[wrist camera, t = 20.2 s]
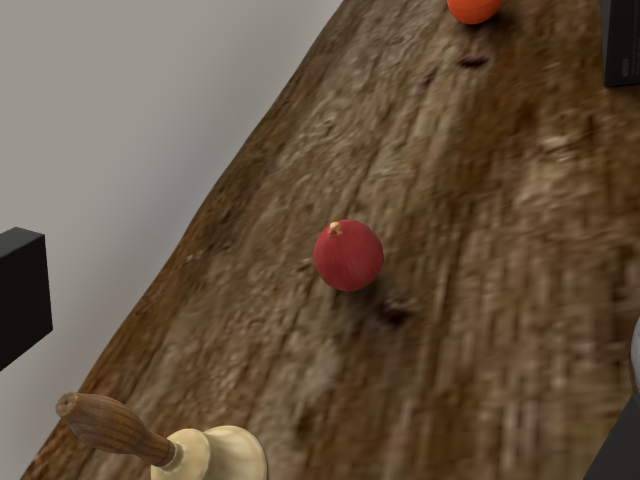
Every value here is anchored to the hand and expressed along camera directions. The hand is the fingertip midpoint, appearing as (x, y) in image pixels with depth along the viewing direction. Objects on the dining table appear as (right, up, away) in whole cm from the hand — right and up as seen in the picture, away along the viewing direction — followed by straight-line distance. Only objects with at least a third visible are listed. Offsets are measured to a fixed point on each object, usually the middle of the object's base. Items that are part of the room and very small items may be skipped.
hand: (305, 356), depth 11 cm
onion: (+4, -1, +33) cm, 33 cm away
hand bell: (-7, -16, +26) cm, 31 cm away
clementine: (+21, +32, +54) cm, 66 cm away
